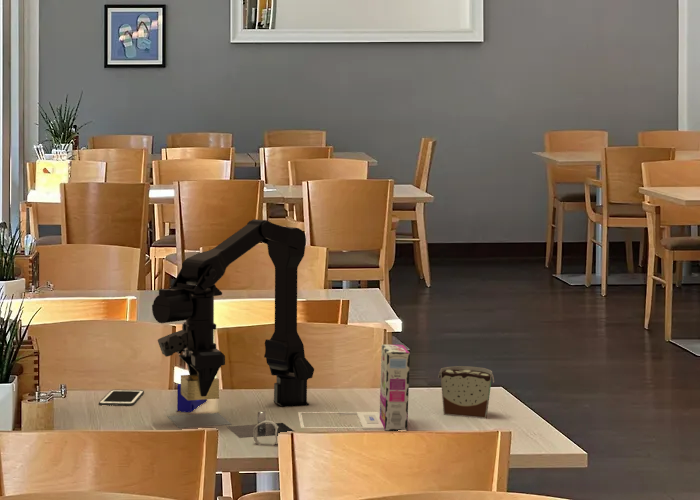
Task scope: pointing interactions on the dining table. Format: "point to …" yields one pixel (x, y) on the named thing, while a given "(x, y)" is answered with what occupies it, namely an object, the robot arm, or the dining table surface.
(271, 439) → the dining table surface
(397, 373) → the candy bar box
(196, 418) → the coaster
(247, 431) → the stand
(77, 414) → the dining table surface
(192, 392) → the tan wooden block
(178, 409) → the blue arch block
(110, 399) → the cell phone
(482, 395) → the food container
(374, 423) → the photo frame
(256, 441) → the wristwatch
